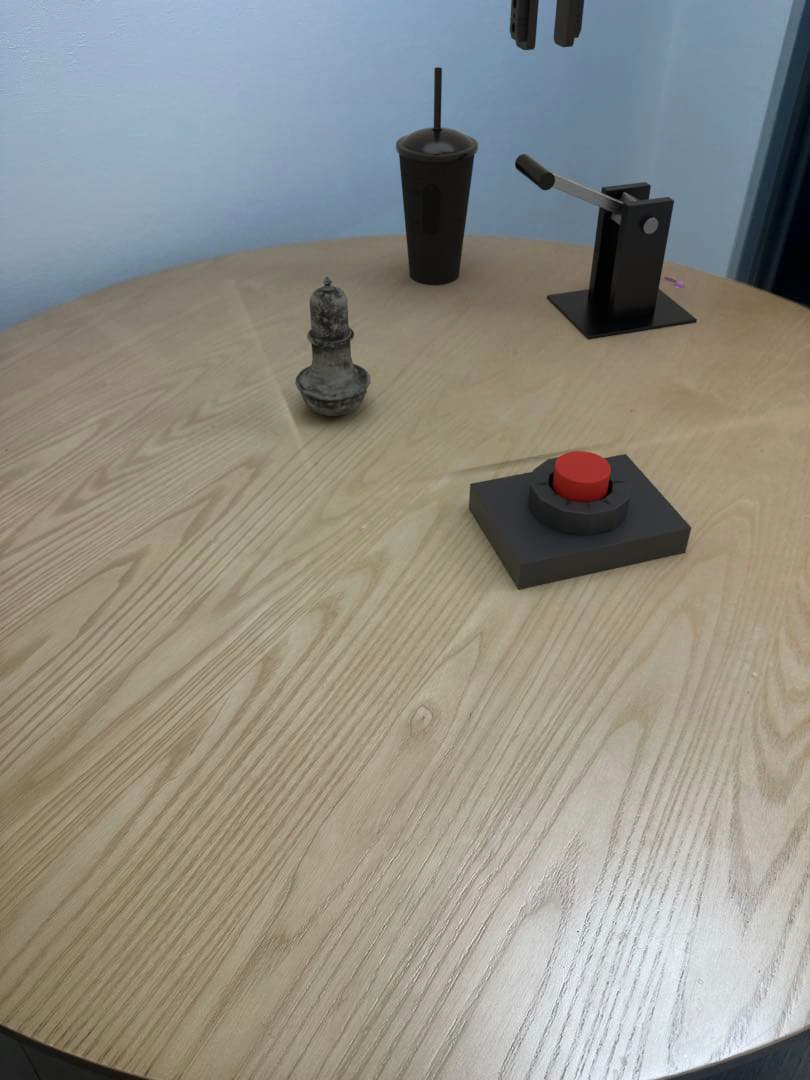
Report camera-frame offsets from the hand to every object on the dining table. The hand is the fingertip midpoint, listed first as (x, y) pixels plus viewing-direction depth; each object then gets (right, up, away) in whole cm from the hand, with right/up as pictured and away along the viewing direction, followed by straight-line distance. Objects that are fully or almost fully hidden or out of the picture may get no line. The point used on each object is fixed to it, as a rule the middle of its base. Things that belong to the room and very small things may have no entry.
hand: (544, 45), depth 72 cm
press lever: (+5, -9, +9) cm, 14 cm away
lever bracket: (+10, -17, +18) cm, 26 cm away
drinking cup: (-8, -12, +24) cm, 28 cm away
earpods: (+16, -13, +23) cm, 31 cm away
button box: (+1, -37, -7) cm, 38 cm away
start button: (+1, -34, -10) cm, 36 cm away
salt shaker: (-16, -28, +4) cm, 33 cm away
